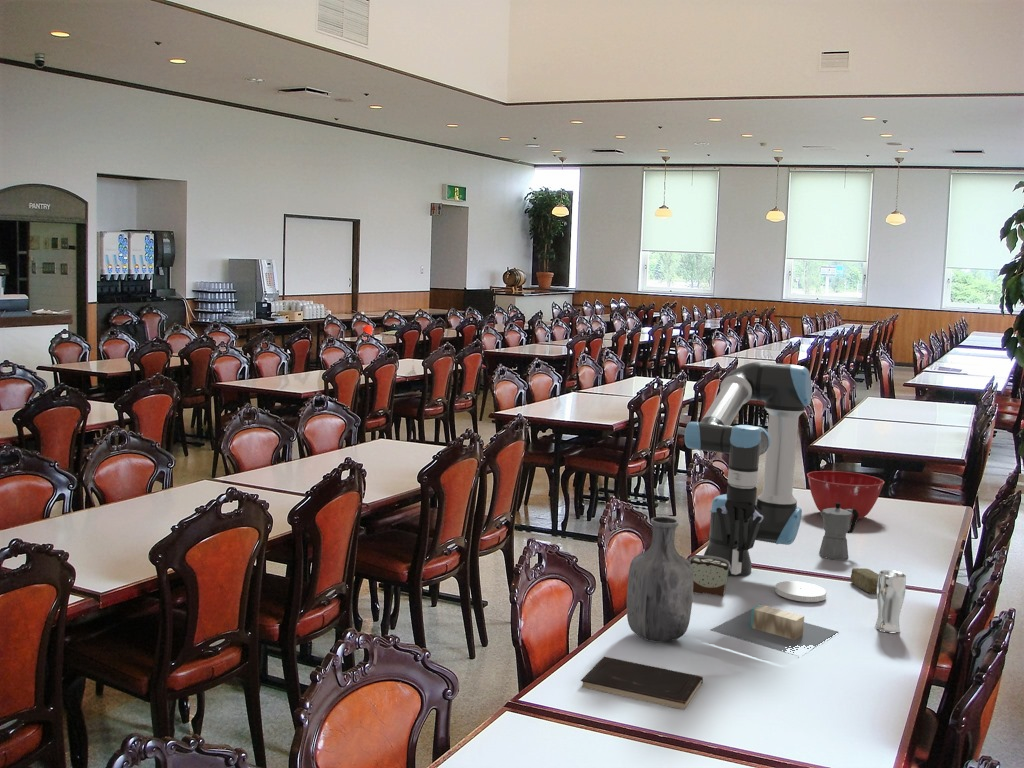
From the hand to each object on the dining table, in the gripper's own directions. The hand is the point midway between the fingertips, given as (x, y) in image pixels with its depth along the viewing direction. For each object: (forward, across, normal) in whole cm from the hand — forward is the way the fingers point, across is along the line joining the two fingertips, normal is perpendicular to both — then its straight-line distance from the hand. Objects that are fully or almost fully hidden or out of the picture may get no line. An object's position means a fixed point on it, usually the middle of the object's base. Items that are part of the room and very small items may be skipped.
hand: (736, 573), depth 268 cm
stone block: (+14, +15, +56) cm, 60 cm away
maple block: (+10, +7, -1) cm, 12 cm away
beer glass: (+13, +32, +24) cm, 42 cm away
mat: (+13, +12, -1) cm, 18 cm away
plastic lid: (+14, +4, +33) cm, 36 cm away
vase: (+13, -7, -27) cm, 30 cm away
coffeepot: (+15, -6, +83) cm, 85 cm away
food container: (+13, -16, +16) cm, 26 cm away
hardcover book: (+13, +6, -54) cm, 56 cm away
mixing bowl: (+16, -27, +140) cm, 144 cm away
